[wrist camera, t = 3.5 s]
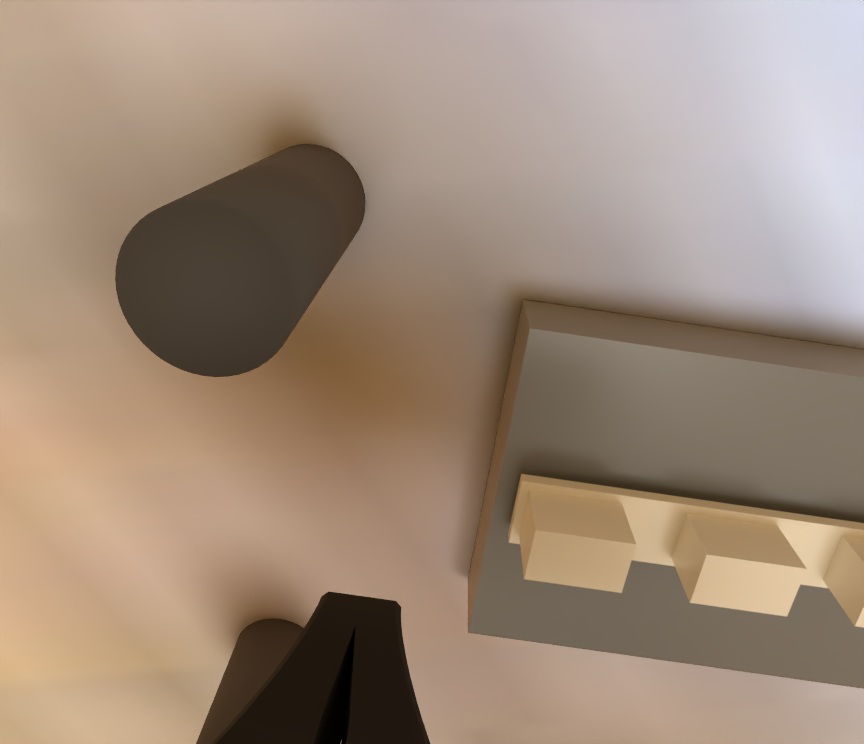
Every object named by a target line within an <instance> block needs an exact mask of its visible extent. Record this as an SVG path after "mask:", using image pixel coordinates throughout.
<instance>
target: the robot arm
mask: <svg viewBox="0 0 864 744" xmlns="http://www.w3.org/2000/svg"><path fill="white" fill-rule="evenodd" d="M341 739H342V741H341ZM340 743H341V744H430V742H429V739H428V736H427V733H426V730H425V727H424V724H423V721H422V718H421V714H420V711H419V708H418V704H417V701H416V697H415V693H414V689H413V685H412V682H411V678H410V674H409V669H408V665H407V660H406V655H405V649H404V644H403V637H402V628H401V607H400V605H399V604H398V603H397V602H396V601H391V600H384V599H377V598H370V597H363V596H356V595H349V594H342V593H334V592H328V593H326V594H324V595H323V596H322V597H321V599H320V601H319V604H318V606H317V607H316V609H315V611H314V613H313V615H312V616H311V618H310V620H309V621H308V623H307V625H306V626H305V628H304V629H303V631H302V632H301V634H300V635H299V637H298V639H297V640H296V642H295V643H294V645H293V646H292V647H291V649H290V650H289V651H288V653H287V654H286V656H285V657H284V658H283V660H282V661H281V662H280V664H279V665H278V666H277V668H276V669H275V671H274V672H273V673H272V675H271V676H270V677H269V678H268V680H267V681H266V682H265V683H264V684H263V686H262V687H261V688H260V689H259V690H258V692H257V693H256V694H255V695H254V696H253V698H252V699H251V700H250V701H249V702H248V704H247V705H246V706H245V707H244V708H243V710H242V711H241V712H240V713H239V714H238V715H237V716H236V718H235V719H234V720H233V721H232V722H231V723H230V724H229V725H228V726H227V727H226V728H225V730H224V731H223V732H222V733H221V734H220V735H219V736H218V737H217V738H216V739H215V740H214V741H213V742H212V743H211V744H340Z"/></svg>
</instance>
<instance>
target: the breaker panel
mask: <svg viewBox="0 0 864 744" xmlns="http://www.w3.org/2000/svg"><path fill="white" fill-rule="evenodd" d="M521 474H526V475H533V476H540V477H547V478H554V479H561V480H568V481H575V482H582V483H589V484H596V485H603V486H610V487H617V488H623V489H630V490H637V491H644V492H651V493H658V494H665V495H672V496H679V497H686V498H693V499H700V500H707V501H714V502H720V503H727V504H734V505H741V506H748V507H755V508H762V509H769V510H776V511H783V512H790V513H797V514H804V515H811V516H817V517H824V518H831V519H838V520H845V521H852V522H859V523H864V350H863V349H856V348H849V347H843V346H836V345H829V344H822V343H815V342H809V341H802V340H795V339H788V338H781V337H775V336H768V335H761V334H754V333H748V332H741V331H734V330H727V329H720V328H714V327H707V326H700V325H693V324H687V323H680V322H673V321H666V320H659V319H653V318H646V317H639V316H632V315H625V314H619V313H612V312H605V311H598V310H592V309H585V308H578V307H571V306H564V305H558V304H551V303H544V302H537V301H531V300H524V299H523V302H522V307H521V312H520V317H519V322H518V327H517V333H516V338H515V343H514V348H513V353H512V358H511V363H510V368H509V373H508V378H507V384H506V389H505V394H504V399H503V404H502V409H501V414H500V419H499V424H498V429H497V434H496V440H495V445H494V450H493V455H492V460H491V465H490V470H489V475H488V480H487V485H486V490H485V496H484V501H483V506H482V511H481V516H480V521H479V526H478V531H477V536H476V541H475V547H474V552H473V557H472V562H471V567H470V572H469V577H468V633H475V634H482V635H489V636H496V637H503V638H510V639H517V640H524V641H531V642H539V643H546V644H553V645H560V646H567V647H574V648H581V649H588V650H595V651H602V652H609V653H616V654H623V655H631V656H638V657H645V658H652V659H659V660H666V661H673V662H680V663H687V664H694V665H701V666H708V667H715V668H723V669H730V670H737V671H744V672H751V673H758V674H765V675H772V676H779V677H786V678H793V679H800V680H807V681H815V682H822V683H829V684H836V685H843V686H850V687H857V688H864V628H863V627H856V626H854V624H853V623H852V622H851V620H850V619H849V617H848V616H847V614H846V613H845V611H844V610H843V609H842V607H841V606H840V604H839V603H838V601H837V600H836V598H835V597H834V596H833V594H832V593H831V591H830V590H829V588H822V587H815V586H808V585H801V584H800V587H799V589H798V591H797V594H796V596H795V599H794V601H793V603H792V606H791V608H790V611H789V613H788V615H787V617H786V616H779V615H772V614H765V613H758V612H751V611H744V610H737V609H730V608H723V607H716V606H709V605H702V604H695V603H690V602H689V599H688V597H687V595H686V592H685V590H684V587H683V585H682V583H681V580H680V578H679V575H678V573H677V571H676V568H675V566H668V565H661V564H654V563H647V562H640V561H633V560H632V561H631V564H630V567H629V571H628V574H627V577H626V581H625V584H624V587H623V590H622V593H618V592H611V591H604V590H597V589H590V588H583V587H576V586H568V585H561V584H554V583H547V582H540V581H533V580H526V579H524V574H523V565H522V556H521V547H520V544H514V543H509V540H508V532H509V528H510V523H511V519H512V514H513V509H514V505H515V500H516V495H517V491H518V486H519V482H520V477H521Z"/></svg>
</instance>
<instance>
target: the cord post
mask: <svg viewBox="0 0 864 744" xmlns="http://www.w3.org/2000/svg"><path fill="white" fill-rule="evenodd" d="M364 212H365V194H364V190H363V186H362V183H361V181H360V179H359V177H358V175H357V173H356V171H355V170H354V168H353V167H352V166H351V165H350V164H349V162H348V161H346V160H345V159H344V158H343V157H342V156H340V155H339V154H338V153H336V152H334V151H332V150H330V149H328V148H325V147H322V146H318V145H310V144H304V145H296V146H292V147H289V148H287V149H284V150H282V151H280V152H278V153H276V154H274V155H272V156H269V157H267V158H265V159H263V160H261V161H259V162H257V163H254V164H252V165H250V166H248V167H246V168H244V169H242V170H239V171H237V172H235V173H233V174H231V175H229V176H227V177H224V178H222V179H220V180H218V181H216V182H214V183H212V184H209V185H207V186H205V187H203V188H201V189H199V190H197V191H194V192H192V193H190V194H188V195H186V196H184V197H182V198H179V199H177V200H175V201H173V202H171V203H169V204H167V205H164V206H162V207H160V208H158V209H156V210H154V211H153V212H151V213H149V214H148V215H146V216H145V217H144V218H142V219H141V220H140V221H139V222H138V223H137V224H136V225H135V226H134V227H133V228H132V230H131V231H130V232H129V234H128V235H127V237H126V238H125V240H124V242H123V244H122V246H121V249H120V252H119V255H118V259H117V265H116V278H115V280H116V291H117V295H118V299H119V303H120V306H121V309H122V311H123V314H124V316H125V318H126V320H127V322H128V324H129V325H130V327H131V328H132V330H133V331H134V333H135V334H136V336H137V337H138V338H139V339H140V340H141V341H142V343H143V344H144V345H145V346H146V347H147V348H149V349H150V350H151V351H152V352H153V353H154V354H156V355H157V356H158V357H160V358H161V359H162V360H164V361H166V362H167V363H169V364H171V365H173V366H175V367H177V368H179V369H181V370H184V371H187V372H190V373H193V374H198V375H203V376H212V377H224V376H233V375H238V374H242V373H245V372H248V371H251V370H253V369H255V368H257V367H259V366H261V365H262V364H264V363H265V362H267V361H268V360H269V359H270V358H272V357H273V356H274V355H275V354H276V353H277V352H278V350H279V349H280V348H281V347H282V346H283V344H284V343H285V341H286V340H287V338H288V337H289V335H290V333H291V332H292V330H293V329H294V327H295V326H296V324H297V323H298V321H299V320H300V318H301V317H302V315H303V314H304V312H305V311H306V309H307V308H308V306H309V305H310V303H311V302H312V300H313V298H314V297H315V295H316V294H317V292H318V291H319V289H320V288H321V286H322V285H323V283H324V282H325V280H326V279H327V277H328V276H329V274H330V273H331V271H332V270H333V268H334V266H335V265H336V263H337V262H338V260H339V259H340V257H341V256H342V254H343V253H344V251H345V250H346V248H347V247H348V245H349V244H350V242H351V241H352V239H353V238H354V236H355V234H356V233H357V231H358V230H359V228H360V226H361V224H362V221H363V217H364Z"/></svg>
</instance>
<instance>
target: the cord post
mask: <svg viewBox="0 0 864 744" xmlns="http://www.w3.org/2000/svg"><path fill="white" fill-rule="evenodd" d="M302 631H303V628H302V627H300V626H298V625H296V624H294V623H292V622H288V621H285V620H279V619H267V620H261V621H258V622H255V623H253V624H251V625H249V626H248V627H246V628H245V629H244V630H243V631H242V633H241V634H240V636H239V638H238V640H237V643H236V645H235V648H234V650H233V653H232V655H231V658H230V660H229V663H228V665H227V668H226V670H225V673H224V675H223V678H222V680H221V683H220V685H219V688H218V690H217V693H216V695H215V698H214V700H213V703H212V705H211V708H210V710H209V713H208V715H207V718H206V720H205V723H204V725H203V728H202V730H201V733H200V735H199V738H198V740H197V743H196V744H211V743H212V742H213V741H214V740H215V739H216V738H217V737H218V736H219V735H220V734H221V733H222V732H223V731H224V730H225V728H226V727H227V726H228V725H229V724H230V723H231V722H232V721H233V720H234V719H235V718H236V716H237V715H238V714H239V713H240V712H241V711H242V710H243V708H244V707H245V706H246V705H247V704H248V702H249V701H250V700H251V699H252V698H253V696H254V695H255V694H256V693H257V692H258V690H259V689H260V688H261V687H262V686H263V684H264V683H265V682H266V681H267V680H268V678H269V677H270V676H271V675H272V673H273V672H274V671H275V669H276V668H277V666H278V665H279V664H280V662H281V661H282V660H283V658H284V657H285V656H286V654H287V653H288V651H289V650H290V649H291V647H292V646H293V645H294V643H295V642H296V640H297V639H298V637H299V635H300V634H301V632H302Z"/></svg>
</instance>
